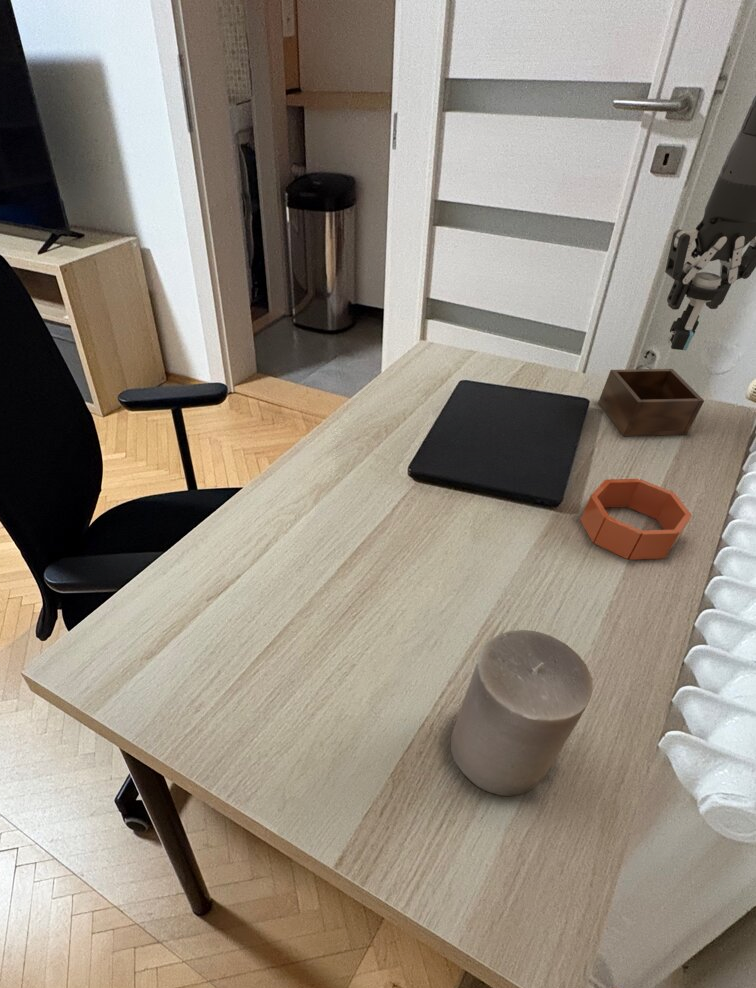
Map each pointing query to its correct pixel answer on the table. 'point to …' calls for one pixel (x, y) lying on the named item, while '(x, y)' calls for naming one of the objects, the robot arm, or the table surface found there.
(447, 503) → the table surface
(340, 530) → the table surface
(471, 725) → the pillar candle
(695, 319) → the push button
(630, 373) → the box
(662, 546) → the bowl
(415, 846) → the table surface
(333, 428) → the table surface
